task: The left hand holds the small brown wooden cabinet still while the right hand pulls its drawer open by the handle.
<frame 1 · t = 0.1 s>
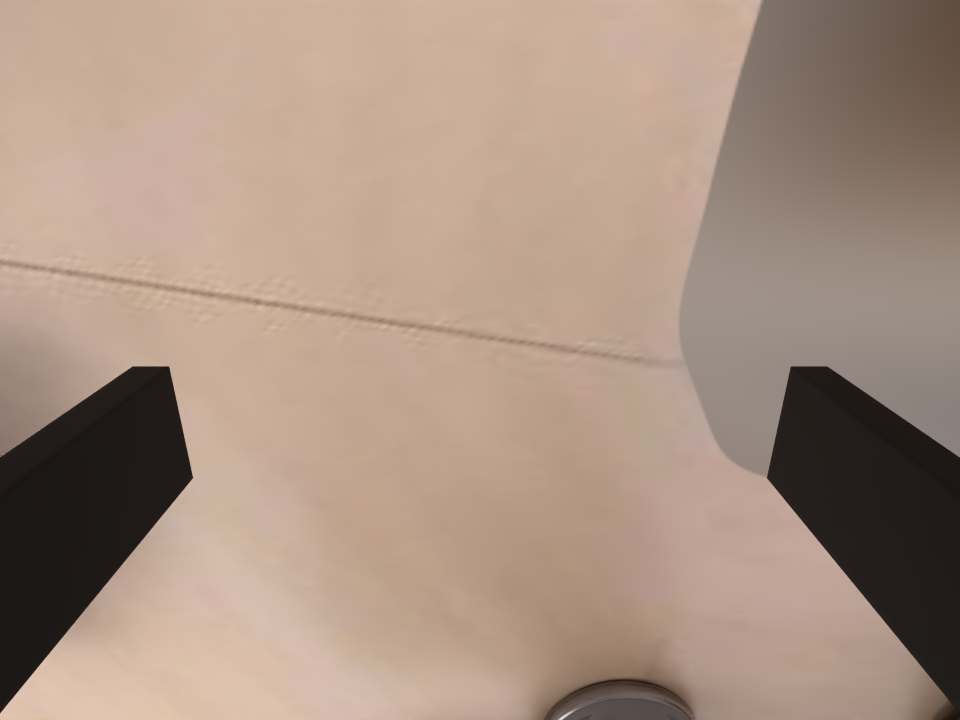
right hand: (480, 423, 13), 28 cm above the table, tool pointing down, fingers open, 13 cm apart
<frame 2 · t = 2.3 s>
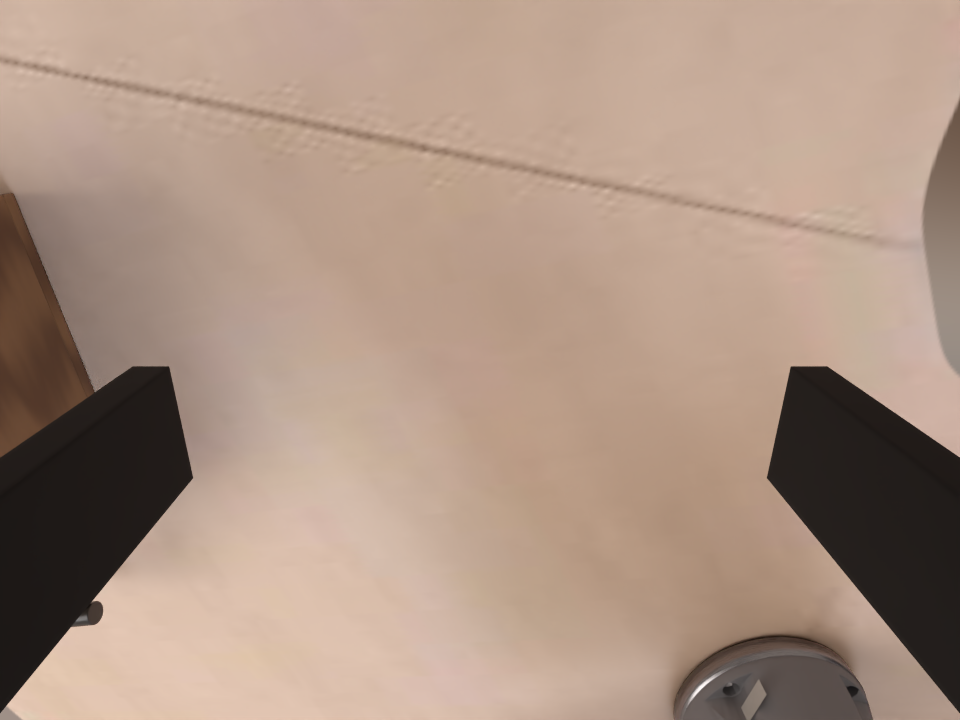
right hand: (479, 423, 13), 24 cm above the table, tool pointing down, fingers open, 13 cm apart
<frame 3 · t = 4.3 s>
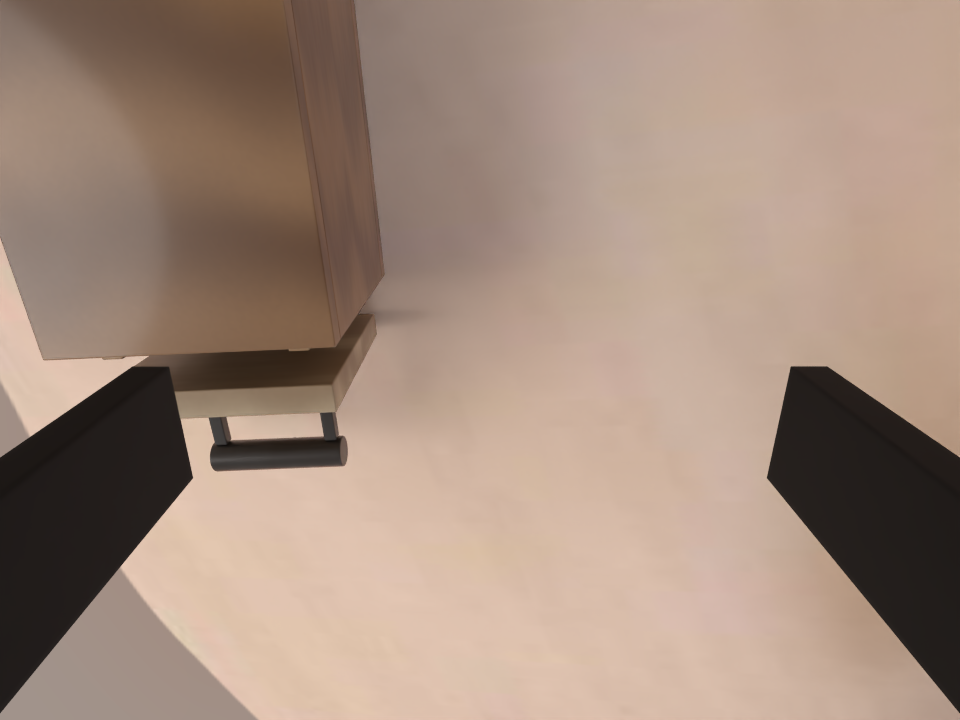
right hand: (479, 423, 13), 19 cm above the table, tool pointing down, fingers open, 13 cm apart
cabinet: (250, 76, 27), on the table, touching left hand
drawer: (230, 229, 24), point 6 cm above the table, slide at 1.8 cm
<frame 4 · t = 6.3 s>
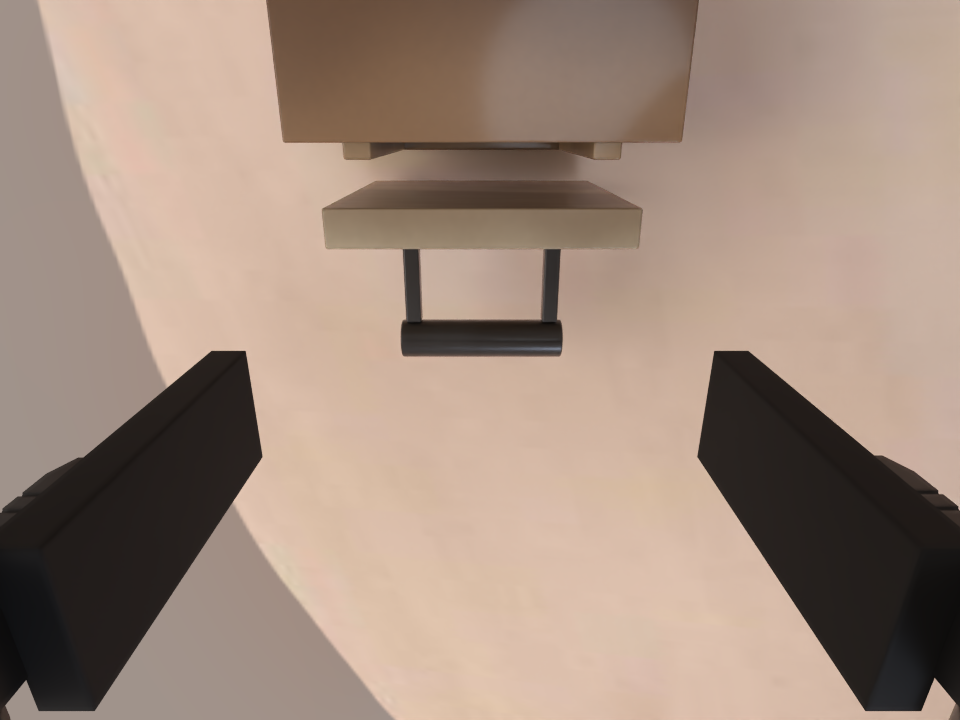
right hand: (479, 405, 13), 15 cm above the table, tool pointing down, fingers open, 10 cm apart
drawer: (481, 23, 19), point 6 cm above the table, slide at 1.8 cm
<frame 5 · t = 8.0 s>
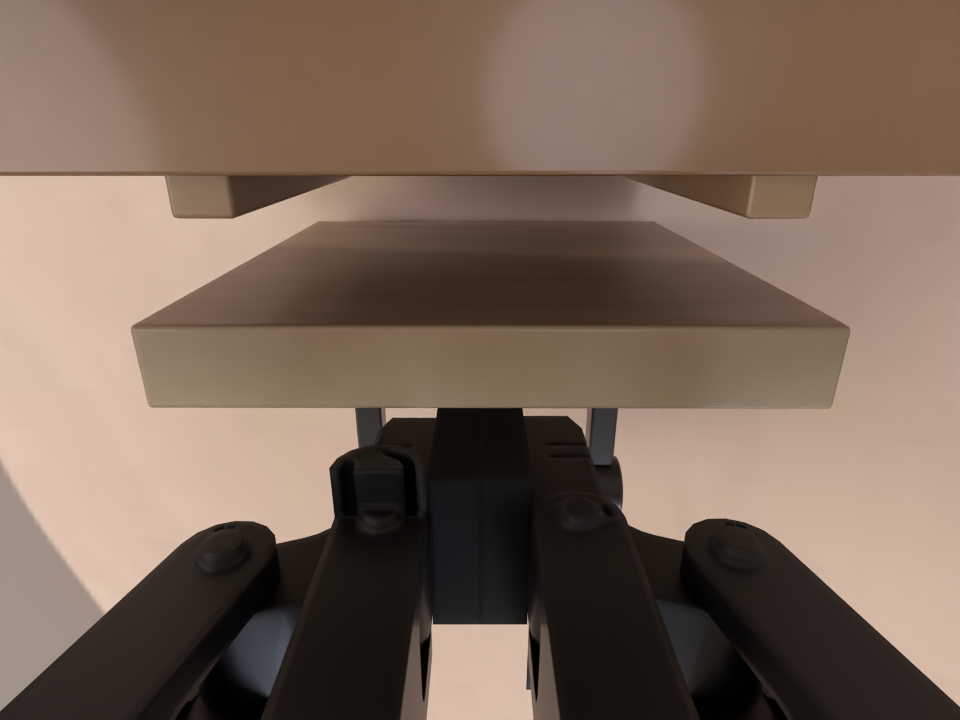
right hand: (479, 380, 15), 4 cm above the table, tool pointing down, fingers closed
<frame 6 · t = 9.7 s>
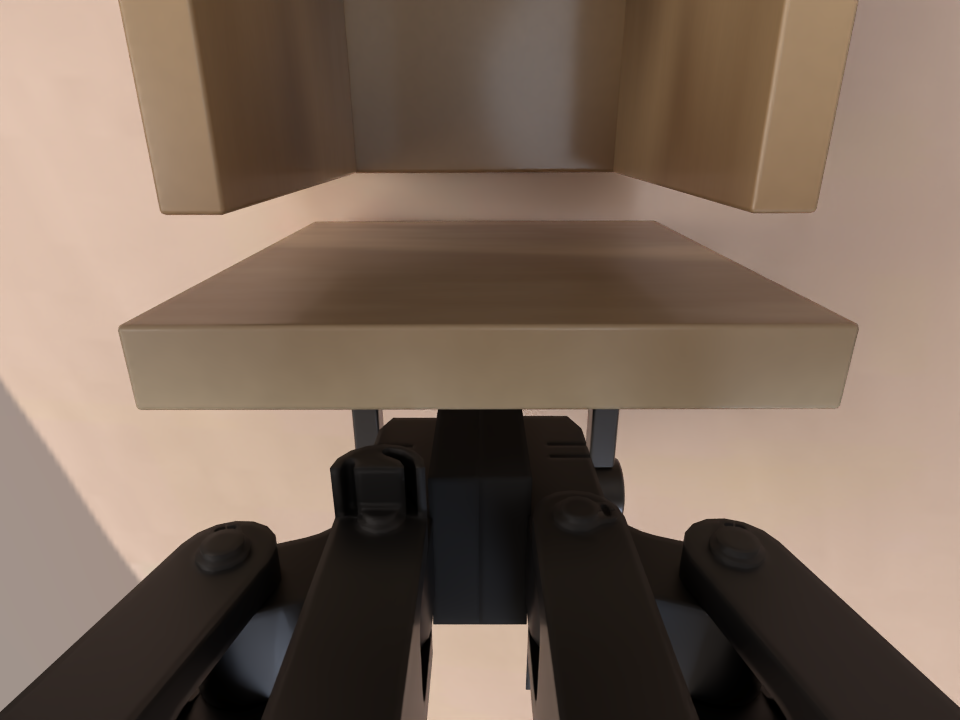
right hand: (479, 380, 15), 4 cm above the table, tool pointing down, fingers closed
when the left hand's fingers open (6 cm above the table, at t = 11.7 s): cabinet stays where it is, on the table.
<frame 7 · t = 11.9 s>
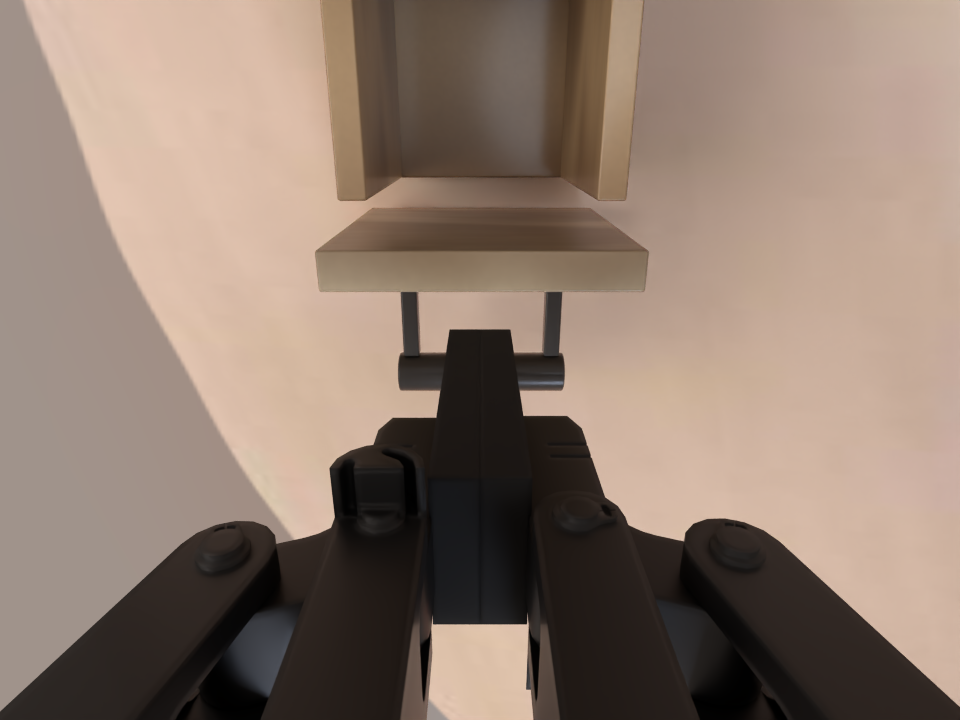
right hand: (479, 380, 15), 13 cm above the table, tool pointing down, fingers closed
drawer: (481, 54, 18), point 6 cm above the table, slide at 9.6 cm
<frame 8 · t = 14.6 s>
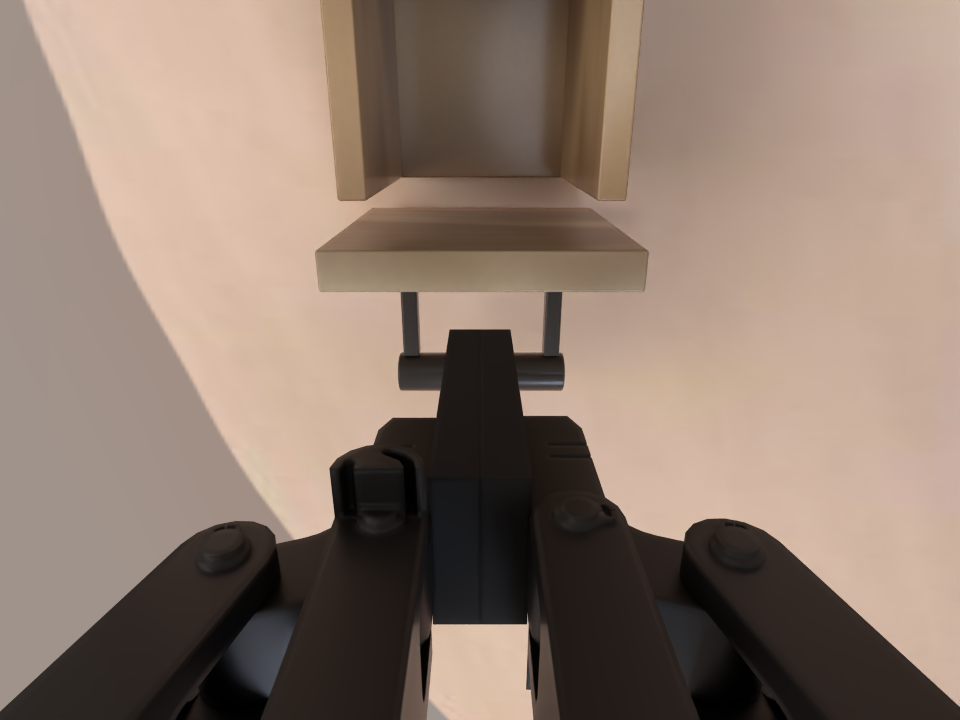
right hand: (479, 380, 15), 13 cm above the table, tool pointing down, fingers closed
drawer: (481, 54, 18), point 6 cm above the table, slide at 9.6 cm
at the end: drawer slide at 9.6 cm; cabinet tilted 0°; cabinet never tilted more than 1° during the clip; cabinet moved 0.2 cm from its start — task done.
